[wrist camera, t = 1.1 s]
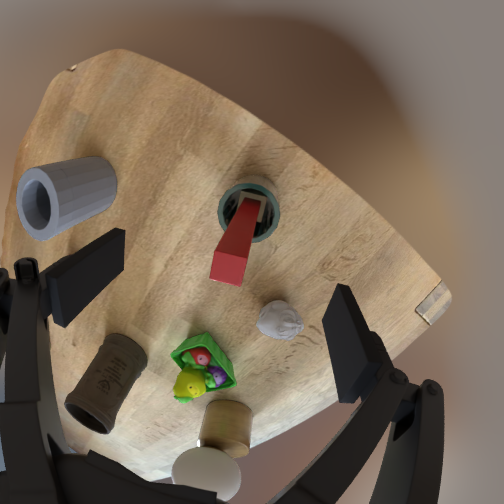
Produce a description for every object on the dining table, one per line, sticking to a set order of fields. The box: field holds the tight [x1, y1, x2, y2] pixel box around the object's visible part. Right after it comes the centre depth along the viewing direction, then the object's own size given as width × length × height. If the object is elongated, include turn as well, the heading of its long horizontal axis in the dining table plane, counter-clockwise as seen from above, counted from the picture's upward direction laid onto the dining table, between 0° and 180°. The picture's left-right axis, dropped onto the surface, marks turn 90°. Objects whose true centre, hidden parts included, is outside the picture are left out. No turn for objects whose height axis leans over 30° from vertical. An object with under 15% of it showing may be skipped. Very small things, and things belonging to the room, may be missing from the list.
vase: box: [16, 156, 117, 241], centre depth 31 cm, size 9×9×14 cm
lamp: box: [172, 400, 253, 501], centre depth 45 cm, size 15×14×25 cm
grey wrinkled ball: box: [256, 300, 304, 341], centre depth 40 cm, size 6×7×7 cm
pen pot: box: [217, 175, 280, 243], centre depth 33 cm, size 7×7×9 cm
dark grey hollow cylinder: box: [64, 334, 147, 434], centre depth 43 cm, size 15×11×20 cm
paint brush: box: [209, 188, 268, 287], centre depth 26 cm, size 3×3×22 cm
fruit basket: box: [171, 332, 237, 403], centre depth 43 cm, size 11×9×11 cm
